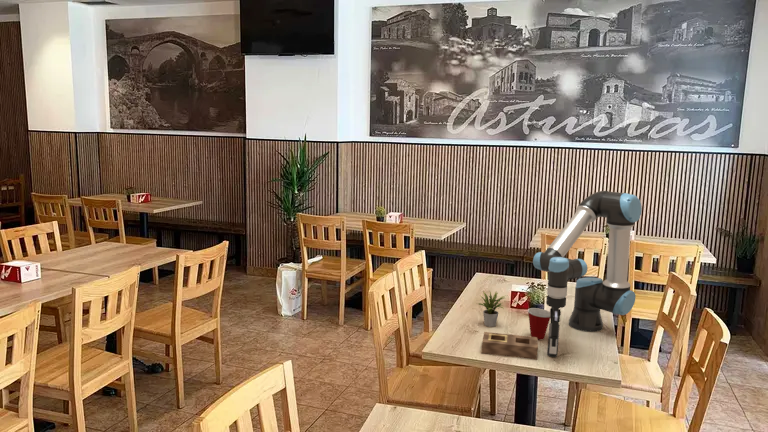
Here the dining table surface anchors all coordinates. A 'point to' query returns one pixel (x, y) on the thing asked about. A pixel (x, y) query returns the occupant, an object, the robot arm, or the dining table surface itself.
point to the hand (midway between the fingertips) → (552, 351)
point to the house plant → (491, 309)
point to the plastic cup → (538, 322)
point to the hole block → (510, 345)
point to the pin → (549, 342)
